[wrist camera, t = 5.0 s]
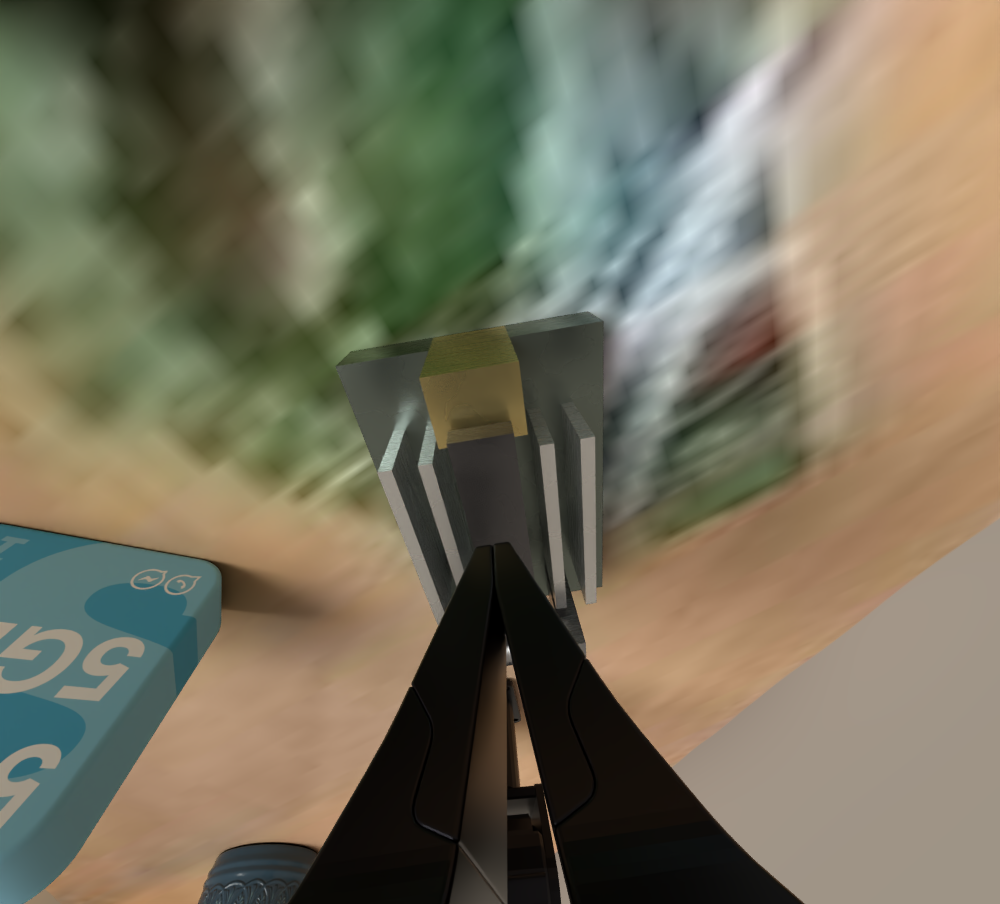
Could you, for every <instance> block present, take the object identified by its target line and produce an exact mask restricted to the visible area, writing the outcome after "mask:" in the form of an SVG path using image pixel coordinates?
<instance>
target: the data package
mask: <svg viewBox="0 0 1000 904" xmlns="http://www.w3.org/2000/svg"><path fill="white" fill-rule="evenodd" d="M221 595H222V576H221V573H220V571H219V569H218V568H217V567H216V566H215V565H214V564H212V563H210V562H208V561H205V560H201V559H195V558H190V557H184V556H179V555H173V554H168V553H162V552H156V551H151V550H145V549H140V548H134V547H128V546H123V545H117V544H112V543H106V542H100V541H95V540H89V539H84V538H78V537H72V536H67V535H61V534H56V533H50V532H44V531H39V530H33V529H28V528H22V527H17V526H11V525H5V524H0V904H24V903H25V902H27V901H28V900H30V899H32V898H33V897H34V896H36V895H37V894H38V893H40V892H41V891H42V890H44V889H45V888H46V887H47V886H48V885H49V884H51V883H52V882H53V881H54V880H55V879H56V878H57V877H58V876H59V875H60V874H61V873H62V872H63V871H64V870H65V869H66V867H67V866H68V865H69V864H70V863H71V862H72V860H73V859H74V858H75V856H76V855H77V854H78V852H79V851H80V849H81V848H82V846H83V845H84V843H85V841H86V840H87V838H88V837H89V835H90V834H91V832H92V830H93V829H94V827H95V826H96V824H97V823H98V821H99V819H100V818H101V816H102V815H103V813H104V812H105V810H106V808H107V807H108V805H109V804H110V802H111V800H112V799H113V797H114V796H115V794H116V793H117V791H118V789H119V788H120V786H121V785H122V783H123V782H124V780H125V778H126V777H127V775H128V774H129V772H130V771H131V769H132V767H133V766H134V764H135V763H136V761H137V760H138V758H139V756H140V755H141V753H142V752H143V750H144V748H145V747H146V745H147V744H148V742H149V741H150V739H151V737H152V736H153V734H154V733H155V731H156V730H157V728H158V726H159V725H160V723H161V722H162V720H163V719H164V717H165V715H166V714H167V712H168V711H169V709H170V708H171V706H172V704H173V703H174V701H175V700H176V698H177V696H178V695H179V693H180V692H181V690H182V689H183V687H184V685H185V684H186V682H187V681H188V679H189V678H190V676H191V674H192V673H193V671H194V670H195V668H196V667H197V665H198V663H199V662H200V660H201V659H202V657H203V656H204V654H205V652H206V651H207V649H208V648H209V646H210V645H211V643H212V641H213V640H214V638H215V637H216V635H217V633H218V631H219V629H220V626H221Z"/></svg>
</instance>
